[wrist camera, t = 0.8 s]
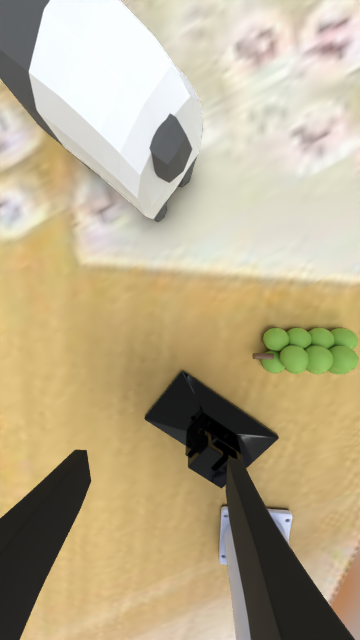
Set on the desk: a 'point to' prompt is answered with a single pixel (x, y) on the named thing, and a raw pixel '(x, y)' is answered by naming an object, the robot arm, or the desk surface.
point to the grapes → (309, 351)
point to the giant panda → (104, 93)
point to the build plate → (208, 427)
